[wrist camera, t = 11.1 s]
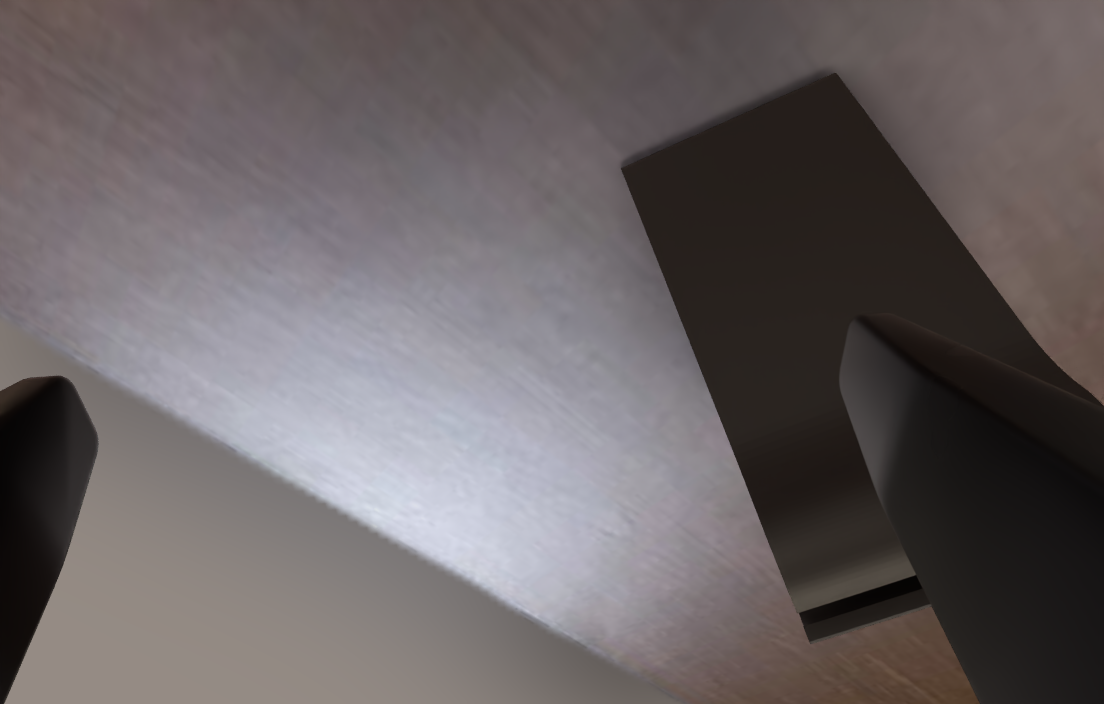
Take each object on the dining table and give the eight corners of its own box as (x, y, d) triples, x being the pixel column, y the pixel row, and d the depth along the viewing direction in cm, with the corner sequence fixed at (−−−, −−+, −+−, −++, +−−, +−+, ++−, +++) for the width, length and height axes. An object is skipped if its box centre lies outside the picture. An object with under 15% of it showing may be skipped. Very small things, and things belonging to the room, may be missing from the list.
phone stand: (619, 163, 21) (730, 457, 11) (833, 68, 20) (1161, 302, 10) (714, 397, 26) (851, 747, 16) (891, 330, 25) (1154, 662, 15)
